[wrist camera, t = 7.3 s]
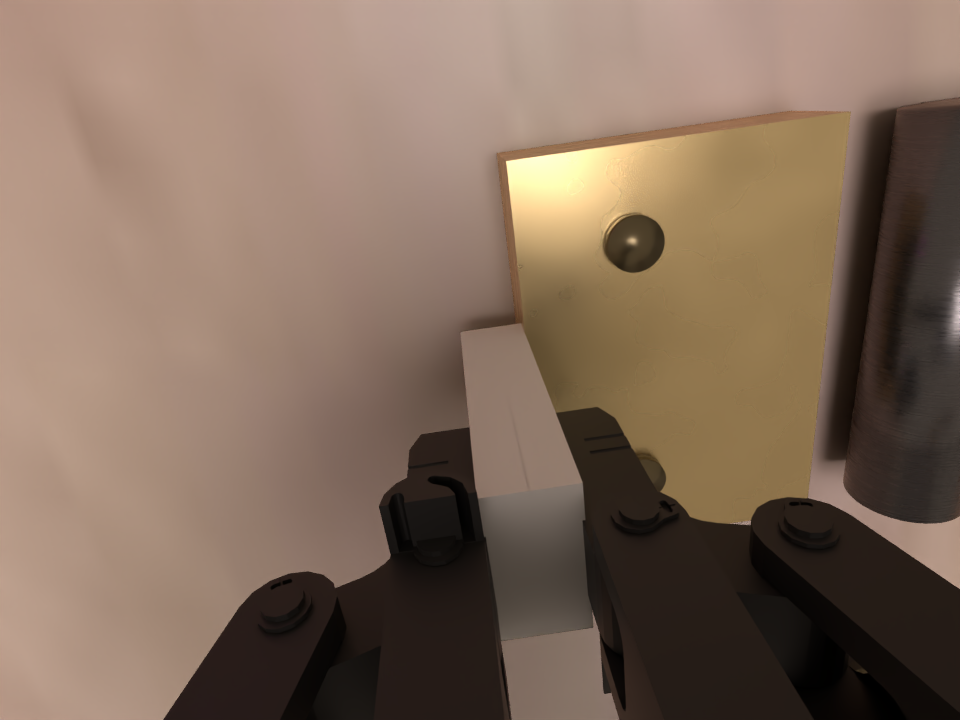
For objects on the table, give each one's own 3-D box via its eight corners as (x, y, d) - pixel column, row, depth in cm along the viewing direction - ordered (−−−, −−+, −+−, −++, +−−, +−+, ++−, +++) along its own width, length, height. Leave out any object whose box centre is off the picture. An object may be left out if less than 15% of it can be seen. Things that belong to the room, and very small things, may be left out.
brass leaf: (534, 493, 18) (550, 557, 16) (495, 152, 14) (508, 162, 12) (759, 460, 18) (812, 519, 16) (784, 110, 14) (860, 111, 12)
